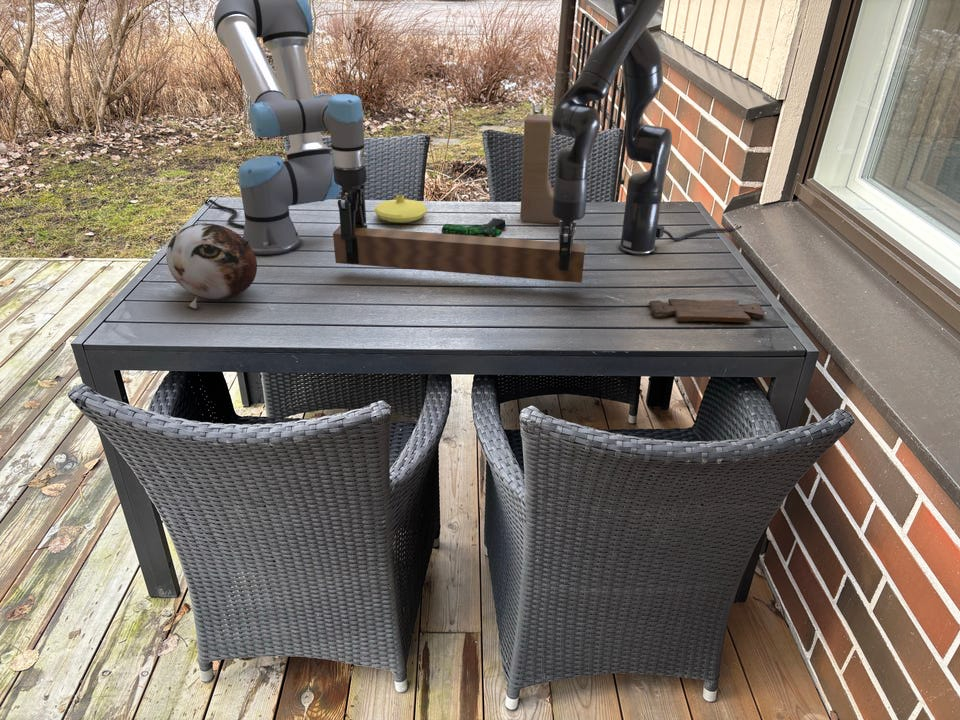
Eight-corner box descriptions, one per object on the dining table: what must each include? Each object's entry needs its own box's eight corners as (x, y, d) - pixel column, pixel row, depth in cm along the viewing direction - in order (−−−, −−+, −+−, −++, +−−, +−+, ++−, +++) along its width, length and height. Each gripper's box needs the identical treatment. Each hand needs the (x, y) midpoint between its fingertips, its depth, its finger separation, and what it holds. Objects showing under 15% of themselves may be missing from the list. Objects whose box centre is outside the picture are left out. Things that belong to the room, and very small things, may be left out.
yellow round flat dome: (398, 206, 226) (397, 184, 222) (437, 217, 218) (437, 194, 214) (364, 220, 215) (362, 197, 211) (403, 231, 207) (402, 208, 203)
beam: (335, 263, 177) (332, 233, 173) (342, 255, 181) (339, 225, 177) (581, 282, 169) (584, 252, 165) (582, 274, 173) (585, 243, 169)
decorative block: (569, 225, 214) (578, 121, 198) (519, 222, 215) (524, 119, 200) (570, 216, 220) (578, 116, 205) (522, 213, 222) (526, 113, 206)
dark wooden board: (769, 325, 160) (756, 306, 169) (771, 319, 159) (757, 299, 168) (654, 321, 161) (647, 302, 169) (655, 314, 160) (648, 295, 168)
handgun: (511, 219, 210) (493, 234, 198) (511, 228, 211) (492, 244, 199) (461, 212, 215) (440, 226, 203) (461, 221, 217) (440, 236, 204)
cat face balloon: (130, 285, 161) (164, 203, 163) (192, 308, 177) (221, 233, 178) (195, 307, 151) (229, 220, 152) (254, 330, 166) (285, 250, 168)
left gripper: (353, 178, 158) (359, 274, 170) (376, 156, 173) (380, 245, 185) (320, 176, 159) (329, 272, 171) (346, 154, 174) (353, 243, 186)
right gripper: (585, 207, 155) (578, 278, 164) (587, 186, 167) (581, 254, 176) (550, 204, 156) (546, 276, 165) (555, 184, 168) (550, 252, 177)
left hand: (356, 258), depth 178 cm, fingers closed on beam, 5 cm apart
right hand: (564, 264), depth 170 cm, fingers closed on beam, 5 cm apart
